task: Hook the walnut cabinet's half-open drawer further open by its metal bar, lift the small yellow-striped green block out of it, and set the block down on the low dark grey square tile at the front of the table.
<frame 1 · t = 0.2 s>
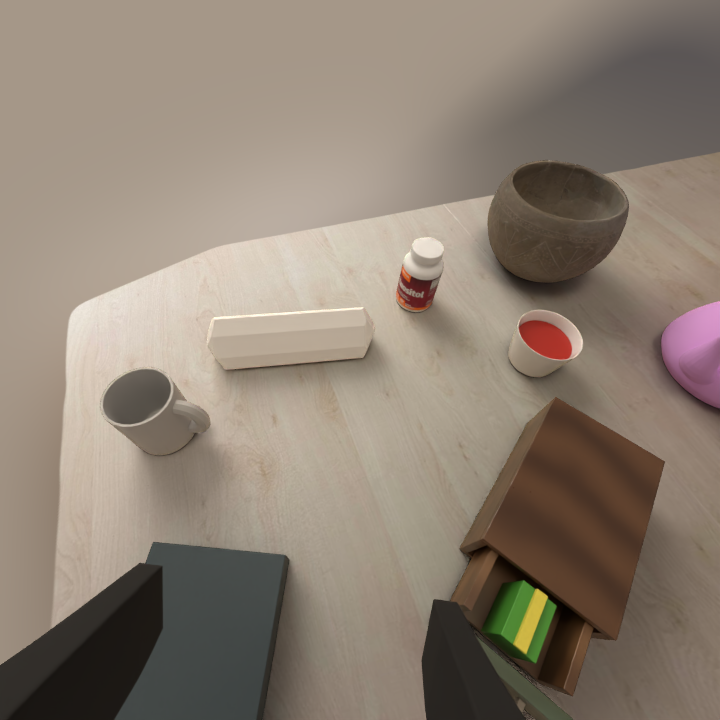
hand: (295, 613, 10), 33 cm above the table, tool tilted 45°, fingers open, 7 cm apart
yellow-striped green block: (506, 618, 35), point 2 cm above the table, touching drawer
cabinet: (544, 512, 43), on the table
cup: (180, 431, 46), on the table
crystal: (295, 346, 55), on the table
bowl: (527, 263, 69), on the table
dark grey square tile: (193, 645, 31), on the table
teapot: (704, 372, 57), on the table
drawer: (523, 597, 35), point 4 cm above the table, slide at 6.8 cm, touching yellow-striped green block
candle: (529, 359, 56), on the table
pill bottle: (413, 300, 62), on the table
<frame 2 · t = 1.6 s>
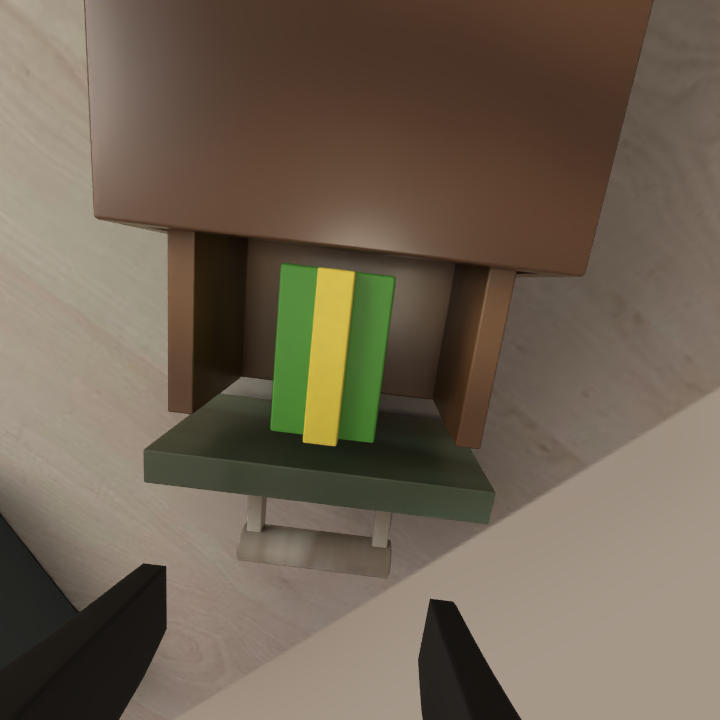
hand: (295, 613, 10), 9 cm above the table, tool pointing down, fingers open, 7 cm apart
yellow-striped green block: (342, 332, 15), point 2 cm above the table, touching drawer
cabinet: (380, 7, 14), on the table
drawer: (345, 282, 13), point 4 cm above the table, slide at 6.8 cm, touching yellow-striped green block
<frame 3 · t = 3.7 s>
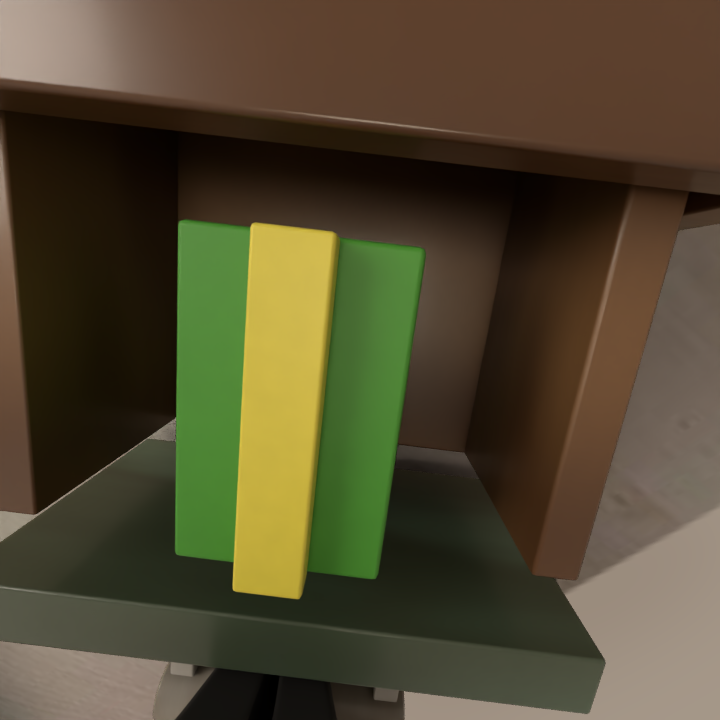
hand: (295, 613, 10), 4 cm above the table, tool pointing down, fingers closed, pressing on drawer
yellow-striped green block: (328, 351, 10), point 2 cm above the table, touching drawer
drawer: (328, 271, 8), point 4 cm above the table, slide at 7.3 cm, touching yellow-striped green block, gripper
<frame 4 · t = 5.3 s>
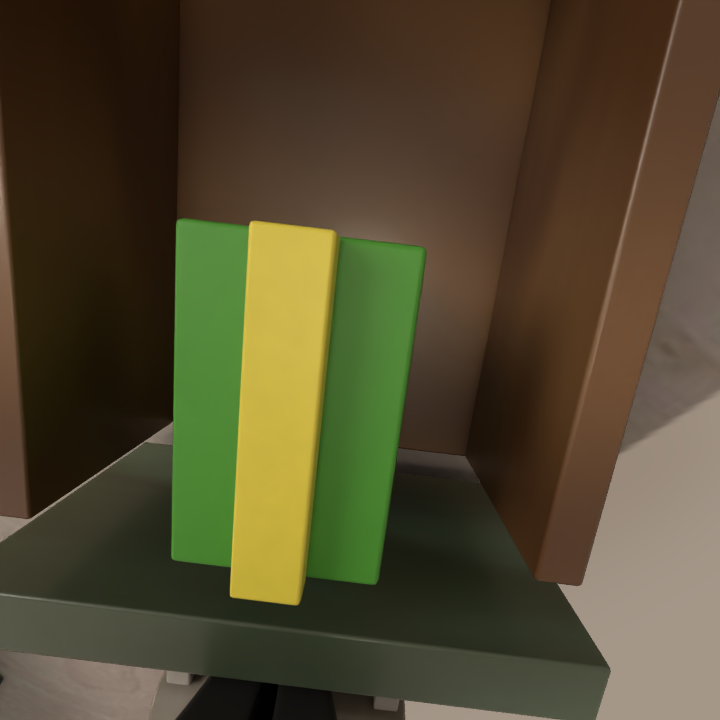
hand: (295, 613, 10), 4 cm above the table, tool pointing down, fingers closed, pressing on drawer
yellow-striped green block: (327, 354, 10), point 2 cm above the table, touching drawer
drawer: (327, 273, 8), point 4 cm above the table, slide at 12.9 cm, touching yellow-striped green block, gripper
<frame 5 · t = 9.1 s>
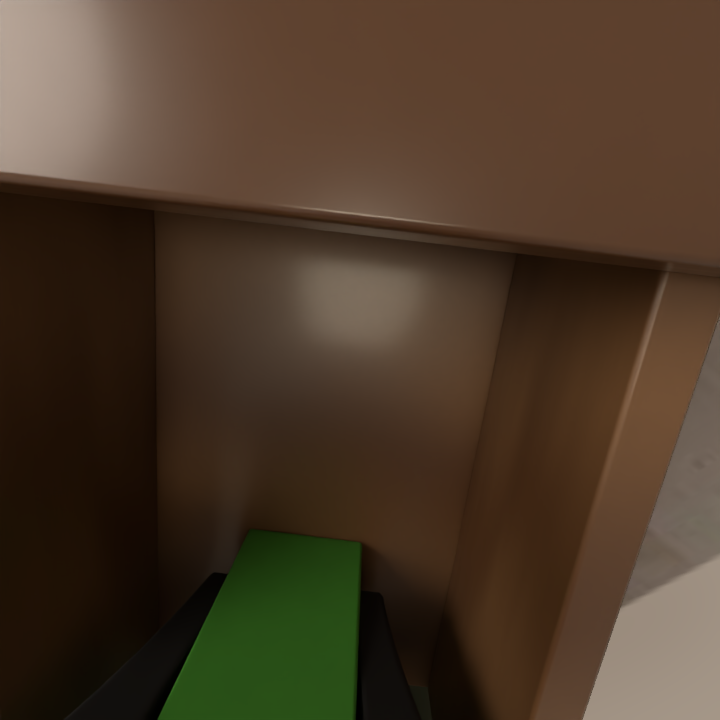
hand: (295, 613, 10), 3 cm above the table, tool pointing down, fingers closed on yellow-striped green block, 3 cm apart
yellow-striped green block: (299, 606, 11), point 2 cm above the table, touching drawer, gripper
drawer: (291, 601, 8), point 4 cm above the table, slide at 13.9 cm, touching yellow-striped green block
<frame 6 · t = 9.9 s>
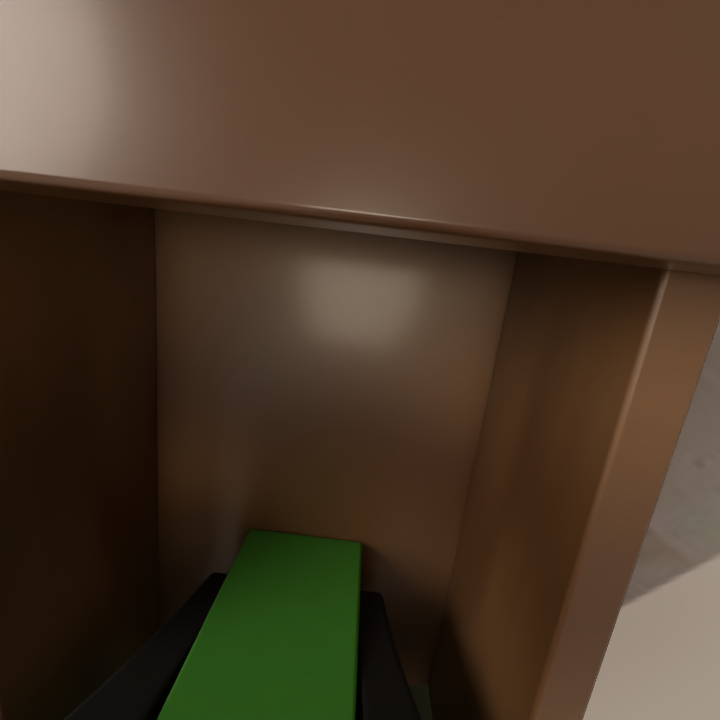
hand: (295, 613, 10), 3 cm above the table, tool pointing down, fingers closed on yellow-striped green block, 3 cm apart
yellow-striped green block: (298, 606, 11), point 2 cm above the table, touching gripper
drawer: (292, 600, 8), point 4 cm above the table, slide at 13.9 cm
when the fingers open (5 cm above the table, at t = 14.2 s): yellow-striped green block stays where it is, resting on dark grey square tile.
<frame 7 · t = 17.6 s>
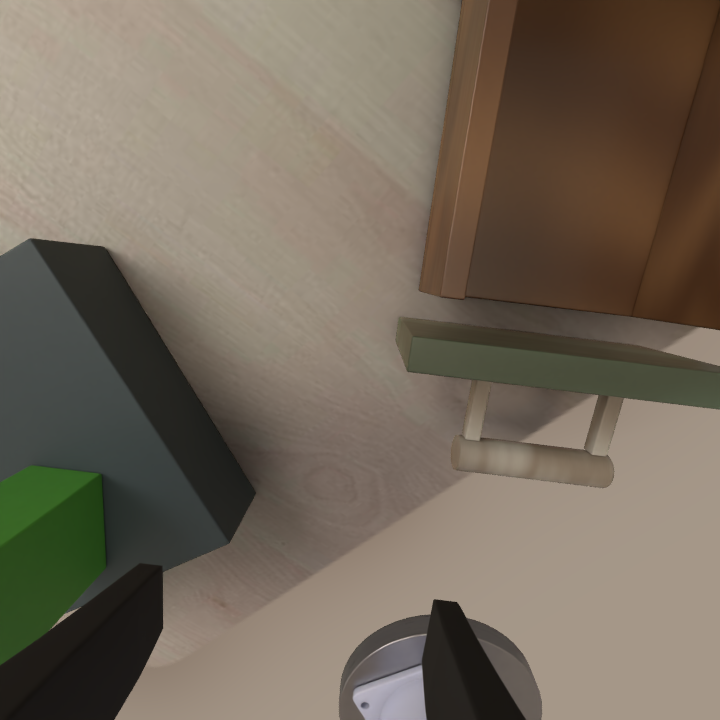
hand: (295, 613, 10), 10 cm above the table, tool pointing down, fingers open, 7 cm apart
yellow-striped green block: (70, 517, 17), point 4 cm above the table, touching dark grey square tile
dark grey square tile: (18, 464, 16), on the table
drawer: (585, 180, 13), point 4 cm above the table, slide at 13.9 cm
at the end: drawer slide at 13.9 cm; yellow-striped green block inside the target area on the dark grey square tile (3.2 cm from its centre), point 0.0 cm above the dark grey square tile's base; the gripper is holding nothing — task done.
